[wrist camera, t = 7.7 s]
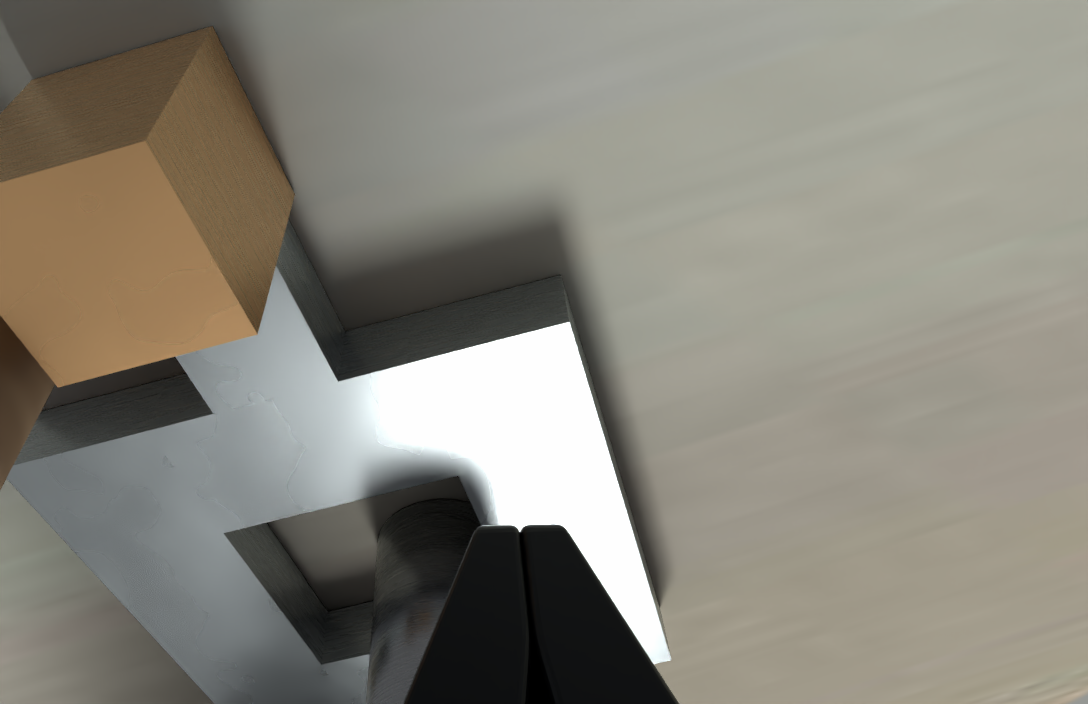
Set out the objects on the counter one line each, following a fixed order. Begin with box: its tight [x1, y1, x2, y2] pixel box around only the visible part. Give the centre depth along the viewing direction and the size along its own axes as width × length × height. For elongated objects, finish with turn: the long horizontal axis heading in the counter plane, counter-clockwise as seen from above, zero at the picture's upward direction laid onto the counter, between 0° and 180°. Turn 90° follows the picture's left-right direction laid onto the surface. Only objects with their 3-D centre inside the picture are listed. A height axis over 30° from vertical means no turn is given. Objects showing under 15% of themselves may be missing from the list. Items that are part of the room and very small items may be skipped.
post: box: [366, 499, 481, 704], centre depth 20 cm, size 3×3×5 cm
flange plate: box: [0, 26, 671, 704], centre depth 18 cm, size 17×11×4 cm, turn 14°
